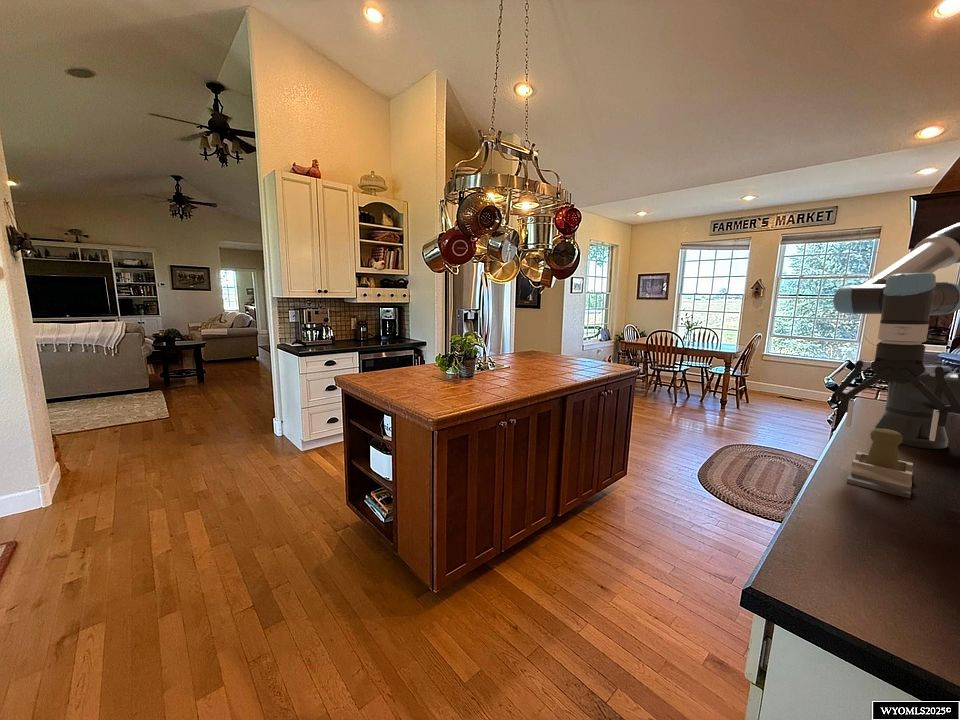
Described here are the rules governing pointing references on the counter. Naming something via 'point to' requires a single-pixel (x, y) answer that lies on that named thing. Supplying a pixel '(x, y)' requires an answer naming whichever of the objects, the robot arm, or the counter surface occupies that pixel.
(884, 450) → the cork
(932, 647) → the counter surface
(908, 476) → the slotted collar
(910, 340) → the robot arm
